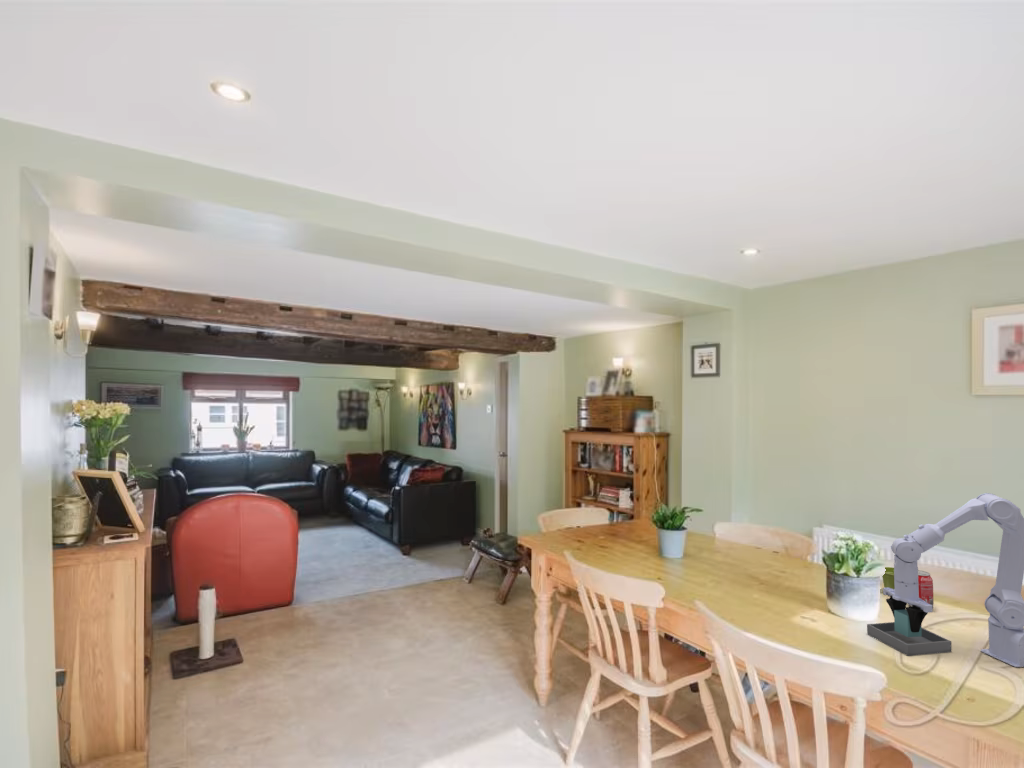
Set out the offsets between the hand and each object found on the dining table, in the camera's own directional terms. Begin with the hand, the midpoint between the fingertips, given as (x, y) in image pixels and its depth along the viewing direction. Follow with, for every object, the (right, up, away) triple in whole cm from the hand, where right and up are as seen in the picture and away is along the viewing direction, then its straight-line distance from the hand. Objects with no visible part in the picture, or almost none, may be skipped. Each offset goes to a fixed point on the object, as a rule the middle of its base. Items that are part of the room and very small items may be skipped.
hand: (907, 628), depth 157 cm
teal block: (0, -2, 0) cm, 2 cm away
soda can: (+23, -5, +26) cm, 35 cm away
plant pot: (+24, -6, +38) cm, 45 cm away
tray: (0, -4, 0) cm, 4 cm away
